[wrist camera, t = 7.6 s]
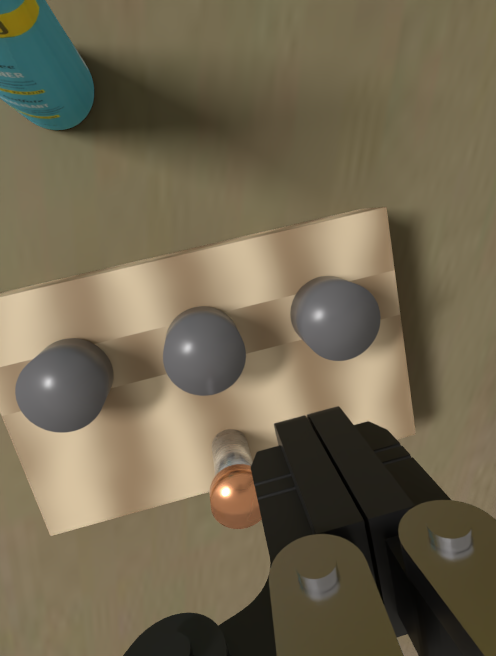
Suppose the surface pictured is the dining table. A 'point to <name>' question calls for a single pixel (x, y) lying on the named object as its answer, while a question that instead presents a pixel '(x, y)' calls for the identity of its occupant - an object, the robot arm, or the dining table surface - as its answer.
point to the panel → (184, 408)
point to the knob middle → (203, 351)
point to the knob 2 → (335, 317)
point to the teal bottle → (41, 67)
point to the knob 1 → (65, 385)
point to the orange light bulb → (233, 482)
